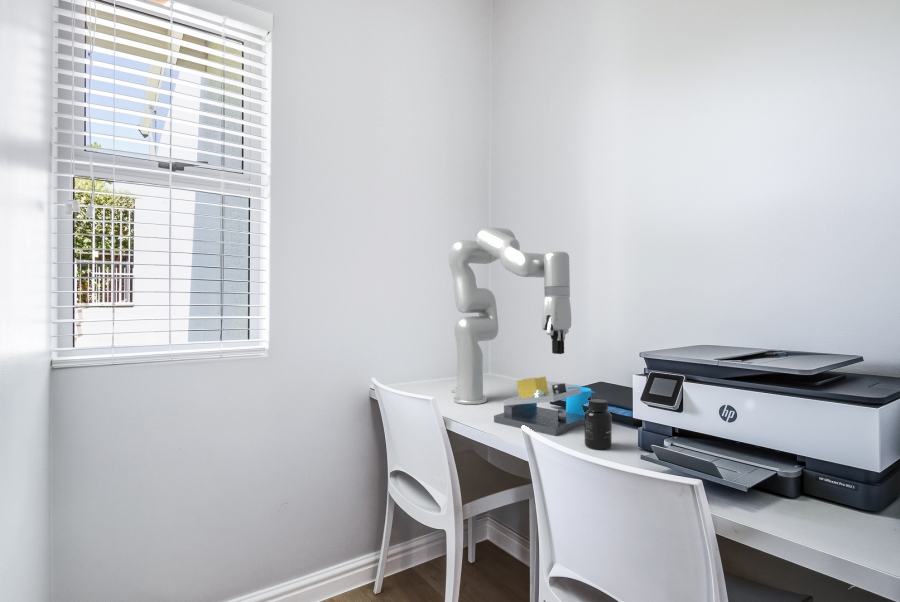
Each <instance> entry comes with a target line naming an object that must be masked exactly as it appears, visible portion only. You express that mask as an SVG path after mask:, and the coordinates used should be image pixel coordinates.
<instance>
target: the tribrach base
mask: <svg viewBox="0 0 900 602" xmlns="http://www.w3.org/2000/svg"><path fill="white" fill-rule="evenodd" d="M537 405H538V403H529V404H515V405H503V412H500V413H498V414H495V415H493V422H494V423H497V424H501V425H505V426H509V427H514V428H519V429H521V428H520V427H521V426H522V425H525V426H527V427H529V428H530V429H532V430H534V431H533V432H537V433H540V434H545V435H550V436H554V437H556V436H559V435H561V434H564V433H567V432H569V431H570V430H571V431H572V430H573V429H576V428H578V427H581V426H583V425H585V416H584V415H579V414H573V413H568V412H566V409H558V410H556V409H550V408H544V407H538V406H537Z"/></svg>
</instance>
